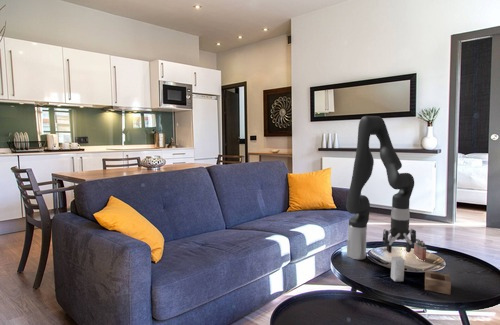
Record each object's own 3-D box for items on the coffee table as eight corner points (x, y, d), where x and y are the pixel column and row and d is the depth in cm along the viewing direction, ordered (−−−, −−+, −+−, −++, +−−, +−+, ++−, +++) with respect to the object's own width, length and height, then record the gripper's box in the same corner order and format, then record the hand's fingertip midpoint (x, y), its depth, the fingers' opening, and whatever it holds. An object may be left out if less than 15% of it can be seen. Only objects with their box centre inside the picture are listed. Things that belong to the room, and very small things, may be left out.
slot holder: (424, 290, 140) (425, 279, 139) (424, 280, 148) (425, 270, 148) (450, 295, 136) (451, 284, 135) (448, 285, 144) (449, 274, 143)
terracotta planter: (427, 261, 168) (428, 243, 166) (421, 262, 167) (422, 243, 166) (417, 255, 176) (418, 237, 174) (411, 255, 175) (412, 237, 174)
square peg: (394, 281, 147) (395, 260, 146) (390, 277, 151) (391, 256, 150) (403, 281, 147) (404, 260, 146) (399, 277, 151) (400, 256, 150)
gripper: (388, 220, 142) (387, 255, 143) (420, 219, 142) (418, 254, 144) (380, 215, 149) (379, 249, 151) (411, 214, 150) (409, 248, 151)
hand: (398, 252), depth 147 cm, fingers open, 8 cm apart
